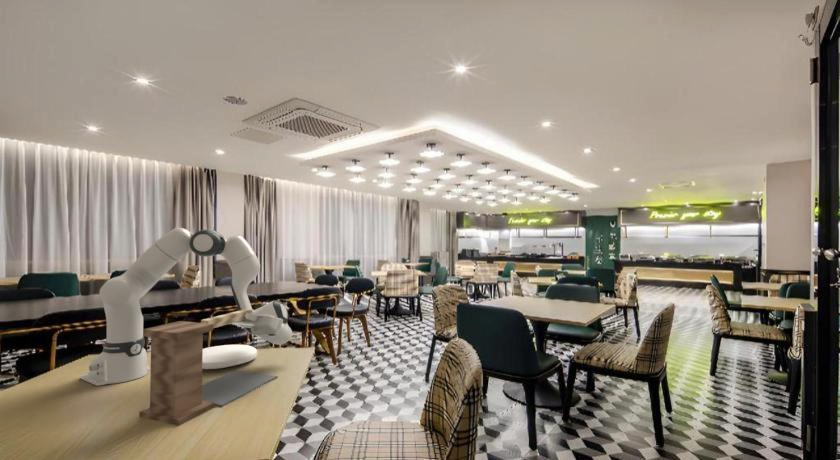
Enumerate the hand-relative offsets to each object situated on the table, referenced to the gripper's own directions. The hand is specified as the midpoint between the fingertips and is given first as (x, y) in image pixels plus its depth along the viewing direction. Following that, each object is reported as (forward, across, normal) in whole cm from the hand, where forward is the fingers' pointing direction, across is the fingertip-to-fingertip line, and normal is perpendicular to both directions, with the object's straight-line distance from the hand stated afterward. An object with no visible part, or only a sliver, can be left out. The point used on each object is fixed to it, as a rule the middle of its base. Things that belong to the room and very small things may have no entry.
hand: (240, 314), depth 138 cm
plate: (-26, -24, +14) cm, 38 cm away
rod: (+4, 0, +4) cm, 6 cm away
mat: (-9, 0, +24) cm, 25 cm away
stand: (+9, 0, +34) cm, 35 cm away
